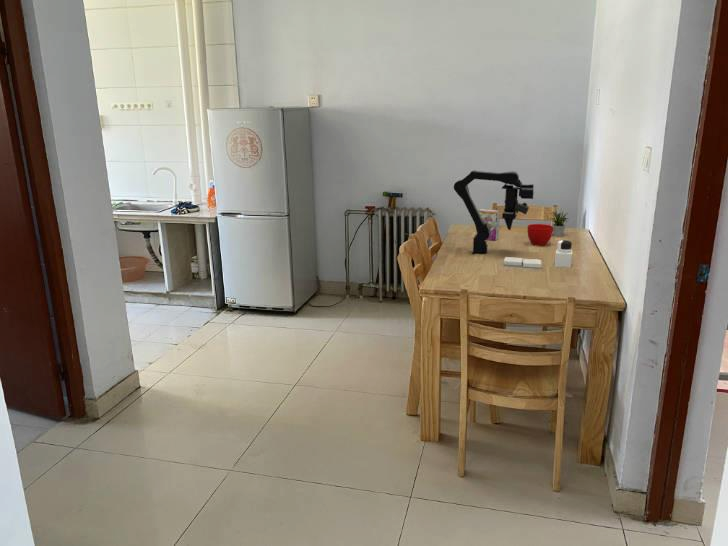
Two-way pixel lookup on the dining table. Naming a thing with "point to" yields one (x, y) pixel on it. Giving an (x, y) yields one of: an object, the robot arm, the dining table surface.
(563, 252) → the medicine bottle
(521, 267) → the mat
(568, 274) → the dining table surface
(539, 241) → the ceramic cup
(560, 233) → the house plant
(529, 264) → the flat tile
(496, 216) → the candy bar box
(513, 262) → the tile
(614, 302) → the dining table surface
